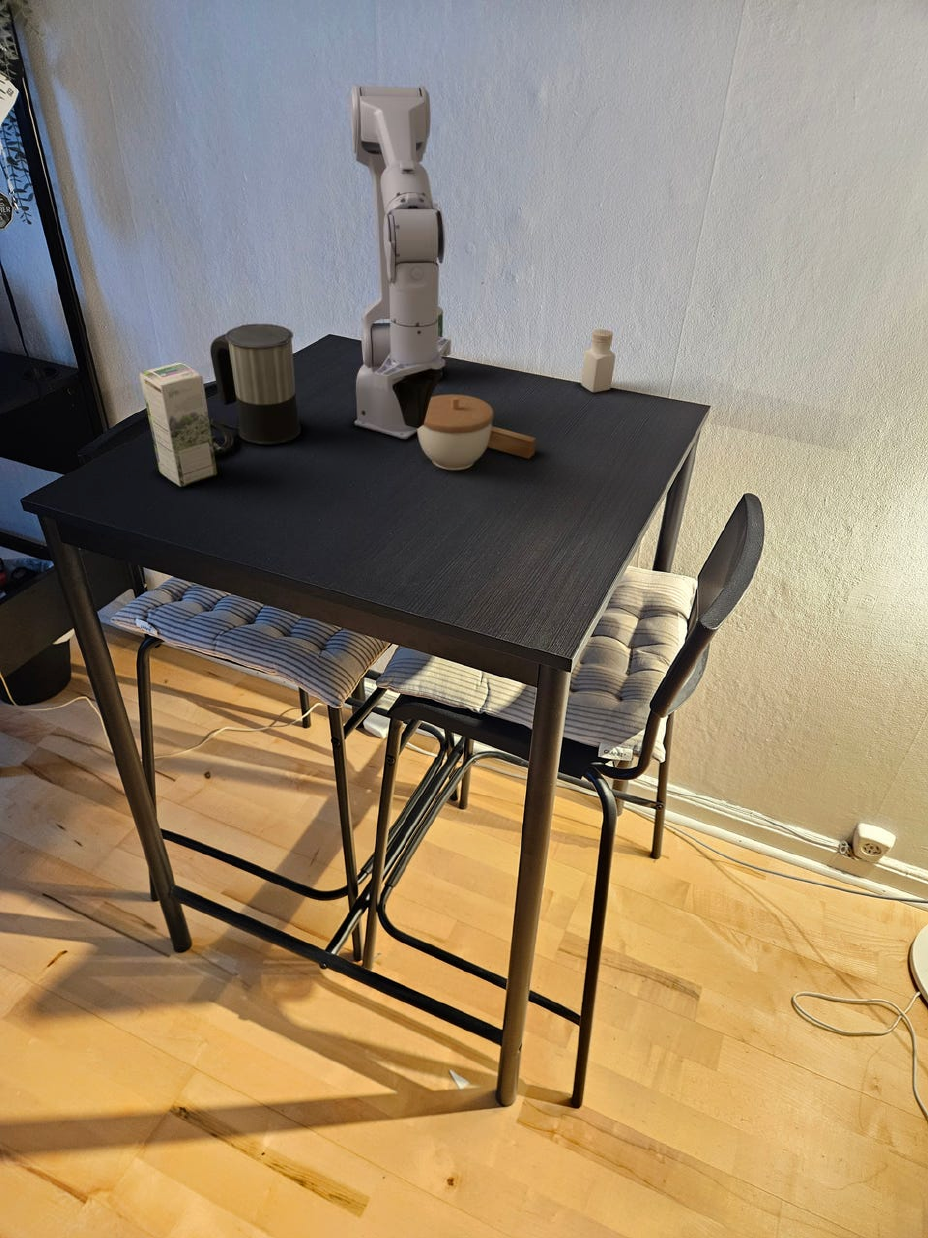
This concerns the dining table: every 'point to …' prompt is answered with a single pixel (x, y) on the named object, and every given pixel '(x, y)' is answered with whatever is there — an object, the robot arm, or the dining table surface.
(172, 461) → the syrup box
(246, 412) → the milk frother
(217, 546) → the dining table surface
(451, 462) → the trinket box
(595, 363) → the pepper shaker
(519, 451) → the rail
